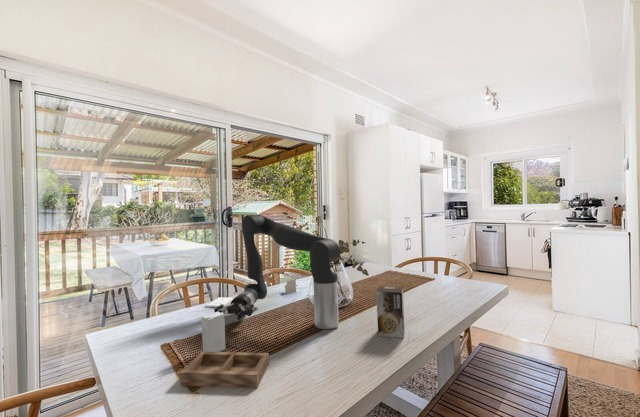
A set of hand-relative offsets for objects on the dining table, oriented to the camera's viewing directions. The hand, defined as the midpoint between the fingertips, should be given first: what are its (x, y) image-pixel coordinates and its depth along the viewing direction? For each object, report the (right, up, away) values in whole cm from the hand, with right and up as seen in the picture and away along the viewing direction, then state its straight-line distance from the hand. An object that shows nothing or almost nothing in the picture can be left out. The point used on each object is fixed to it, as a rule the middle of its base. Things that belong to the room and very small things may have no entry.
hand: (227, 317), depth 109 cm
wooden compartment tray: (+8, -7, -25) cm, 27 cm away
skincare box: (-1, -8, -11) cm, 13 cm away
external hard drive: (-16, -8, +39) cm, 43 cm away
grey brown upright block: (+59, -6, -1) cm, 60 cm away
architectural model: (+18, -7, +54) cm, 58 cm away
